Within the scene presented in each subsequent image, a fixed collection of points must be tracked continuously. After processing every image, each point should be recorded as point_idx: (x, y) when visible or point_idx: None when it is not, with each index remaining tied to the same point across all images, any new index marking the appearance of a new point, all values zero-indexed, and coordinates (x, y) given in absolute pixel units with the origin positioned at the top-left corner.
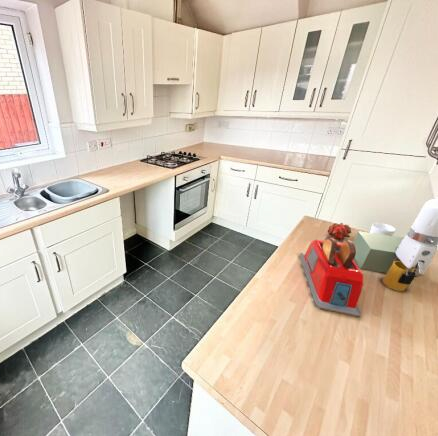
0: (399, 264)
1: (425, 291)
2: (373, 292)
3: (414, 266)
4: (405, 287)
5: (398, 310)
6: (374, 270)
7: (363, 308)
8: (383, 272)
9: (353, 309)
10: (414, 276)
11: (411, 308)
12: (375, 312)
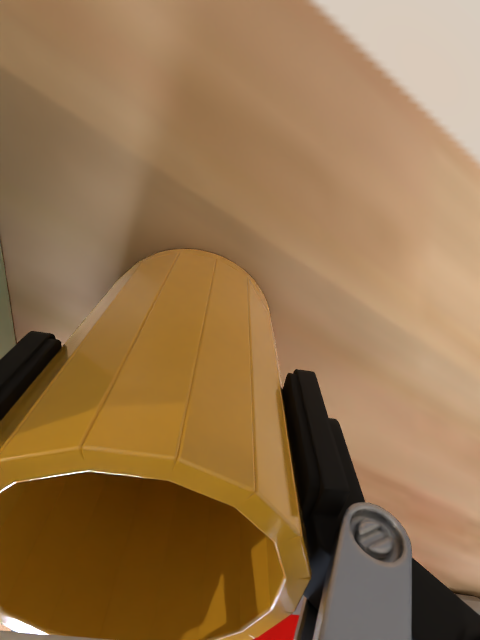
0: (10, 493)
1: (236, 48)
2: None
3: (72, 463)
4: (270, 320)
5: (472, 442)
6: None
7: (435, 566)
8: (10, 314)
9: None
10: (416, 579)
11: (467, 360)
12: (468, 539)
